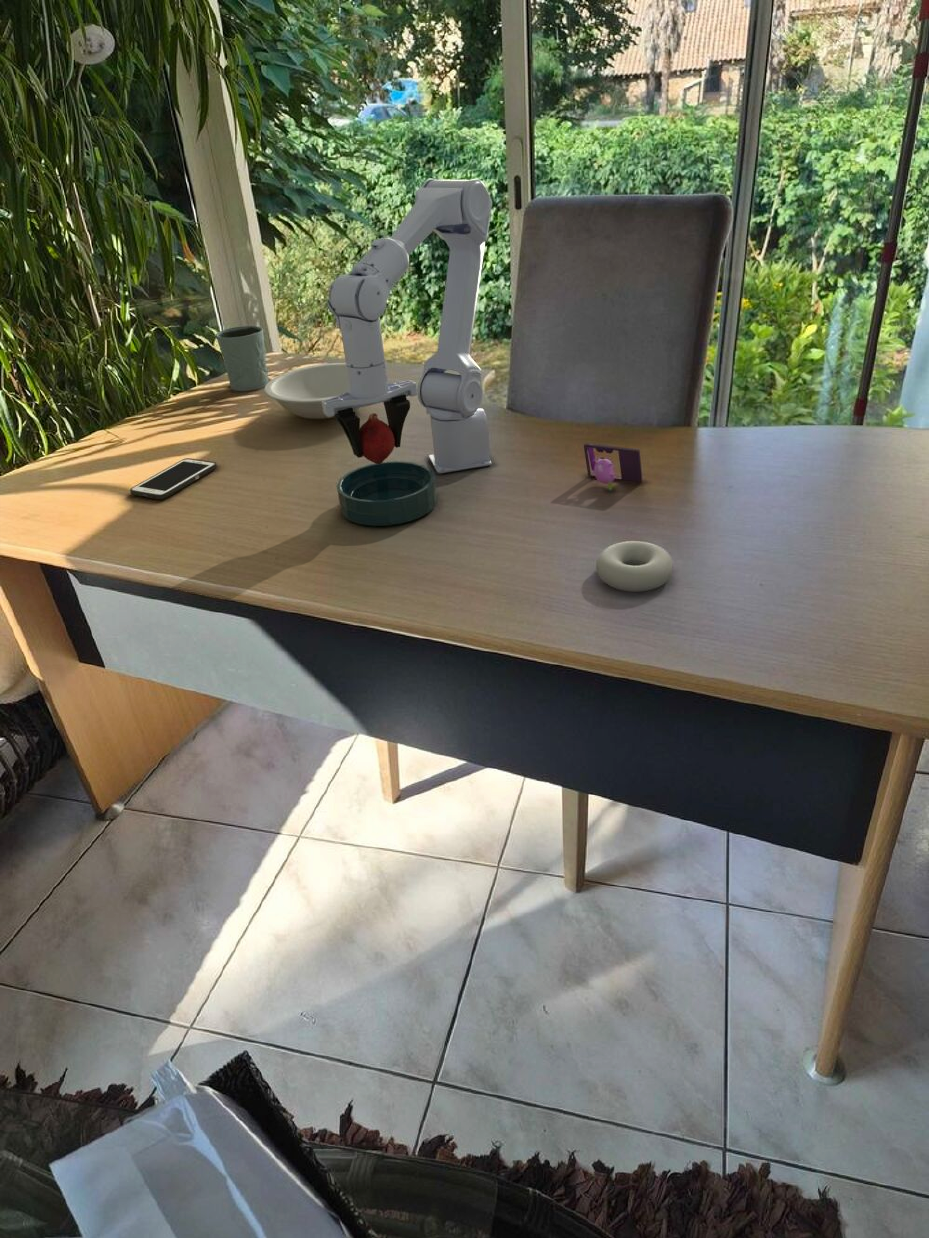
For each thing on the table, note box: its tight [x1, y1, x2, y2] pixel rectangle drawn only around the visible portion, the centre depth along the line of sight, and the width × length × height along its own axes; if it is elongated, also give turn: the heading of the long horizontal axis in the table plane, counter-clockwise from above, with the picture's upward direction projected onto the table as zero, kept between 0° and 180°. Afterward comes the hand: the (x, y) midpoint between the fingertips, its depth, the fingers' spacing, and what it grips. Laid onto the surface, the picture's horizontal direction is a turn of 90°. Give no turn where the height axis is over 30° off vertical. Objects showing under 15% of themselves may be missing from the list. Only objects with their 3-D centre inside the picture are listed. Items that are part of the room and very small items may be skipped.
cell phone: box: [129, 457, 218, 500], centre depth 153 cm, size 8×15×1 cm, turn 153°
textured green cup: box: [215, 325, 270, 392], centre depth 194 cm, size 10×10×12 cm
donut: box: [595, 540, 674, 593], centre depth 114 cm, size 10×4×10 cm
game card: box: [583, 442, 643, 491], centre depth 137 cm, size 7×5×9 cm
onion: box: [360, 412, 395, 464], centre depth 133 cm, size 6×6×8 cm
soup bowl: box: [263, 362, 360, 420], centre depth 176 cm, size 24×24×7 cm
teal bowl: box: [336, 460, 438, 527], centre depth 137 cm, size 15×15×4 cm
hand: (377, 450), depth 134 cm, fingers closed on onion, 6 cm apart
